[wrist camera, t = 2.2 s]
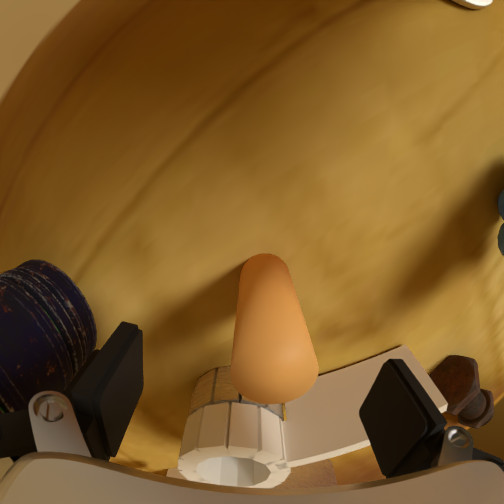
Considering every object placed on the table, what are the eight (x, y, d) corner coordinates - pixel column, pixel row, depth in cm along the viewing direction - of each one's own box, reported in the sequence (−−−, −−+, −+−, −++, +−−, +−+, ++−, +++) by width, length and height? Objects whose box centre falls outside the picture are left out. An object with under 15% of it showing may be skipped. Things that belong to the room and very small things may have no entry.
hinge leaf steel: (243, 351, 19) (240, 432, 12) (356, 449, 24) (372, 502, 17) (176, 389, 21) (156, 461, 14) (302, 473, 25) (309, 525, 18)
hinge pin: (269, 243, 17) (286, 323, 8) (298, 280, 18) (334, 377, 9) (230, 273, 18) (212, 369, 9) (260, 307, 18) (265, 414, 10)
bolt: (466, 401, 25) (425, 362, 22) (498, 389, 22) (471, 343, 19) (465, 441, 21) (424, 419, 18) (501, 430, 18) (477, 402, 14)
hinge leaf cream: (214, 430, 22) (206, 495, 15) (178, 378, 20) (157, 450, 13) (405, 377, 20) (440, 434, 13) (404, 312, 18) (454, 370, 12)
